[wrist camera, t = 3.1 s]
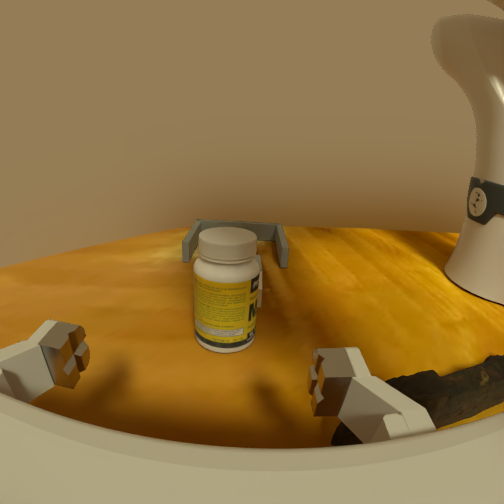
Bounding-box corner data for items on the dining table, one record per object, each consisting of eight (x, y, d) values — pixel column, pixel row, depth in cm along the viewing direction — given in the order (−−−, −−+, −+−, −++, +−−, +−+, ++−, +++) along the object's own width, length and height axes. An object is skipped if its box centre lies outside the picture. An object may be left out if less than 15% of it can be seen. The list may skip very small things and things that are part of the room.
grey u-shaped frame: (279, 239, 48) (281, 223, 47) (286, 267, 38) (289, 248, 37) (197, 235, 48) (197, 219, 47) (182, 261, 38) (182, 242, 37)
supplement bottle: (258, 354, 23) (267, 247, 20) (193, 355, 22) (190, 245, 19) (251, 320, 27) (257, 225, 24) (196, 319, 26) (194, 224, 24)
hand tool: (510, 370, 19) (531, 325, 18) (534, 396, 15) (560, 350, 14) (318, 416, 17) (333, 361, 16) (334, 467, 14) (358, 415, 12)
